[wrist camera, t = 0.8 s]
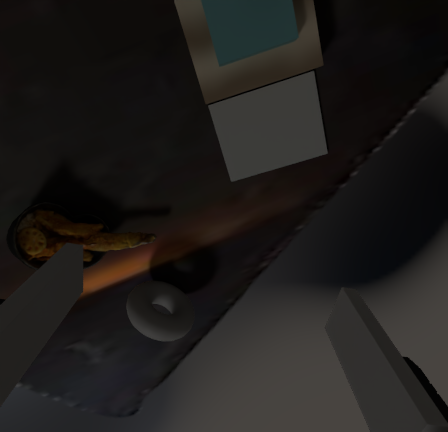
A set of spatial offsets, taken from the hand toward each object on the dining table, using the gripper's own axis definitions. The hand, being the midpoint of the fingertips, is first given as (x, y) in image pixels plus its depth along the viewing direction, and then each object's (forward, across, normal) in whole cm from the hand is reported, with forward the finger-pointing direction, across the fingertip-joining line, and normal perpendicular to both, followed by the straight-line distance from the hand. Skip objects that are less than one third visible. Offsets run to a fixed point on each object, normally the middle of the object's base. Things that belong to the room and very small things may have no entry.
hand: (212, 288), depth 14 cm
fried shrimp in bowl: (+26, -17, -12) cm, 33 cm away
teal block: (+22, 0, +17) cm, 28 cm away
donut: (+26, -4, -20) cm, 33 cm away
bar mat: (+26, +5, +6) cm, 27 cm away
